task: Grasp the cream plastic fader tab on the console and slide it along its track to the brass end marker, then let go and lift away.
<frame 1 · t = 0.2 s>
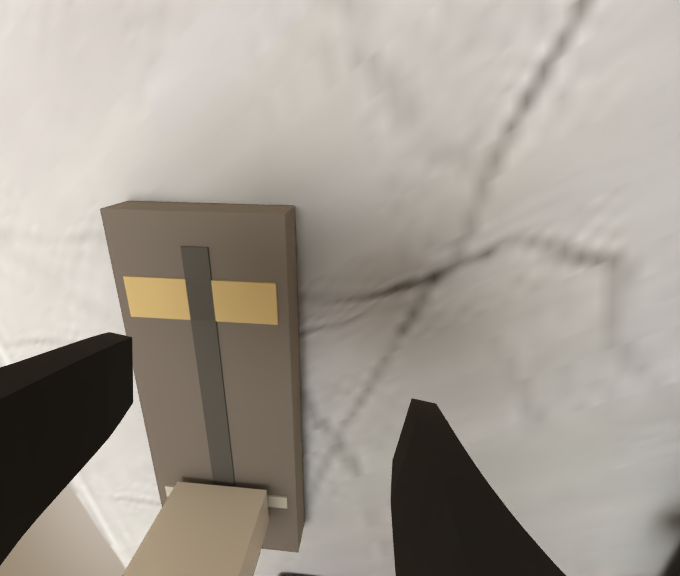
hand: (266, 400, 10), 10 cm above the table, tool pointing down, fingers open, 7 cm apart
fader tab: (200, 554, 20), point 5 cm above the table, slide at 0.0 cm
fader console: (229, 385, 22), on the table
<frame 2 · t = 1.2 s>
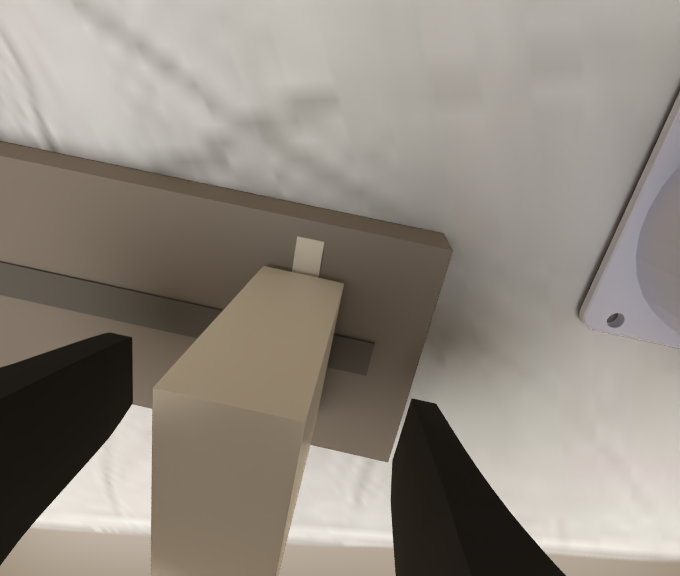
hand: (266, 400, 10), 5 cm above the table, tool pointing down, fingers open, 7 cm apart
fader tab: (265, 409, 10), point 5 cm above the table, slide at 0.0 cm
fader console: (148, 281, 15), on the table
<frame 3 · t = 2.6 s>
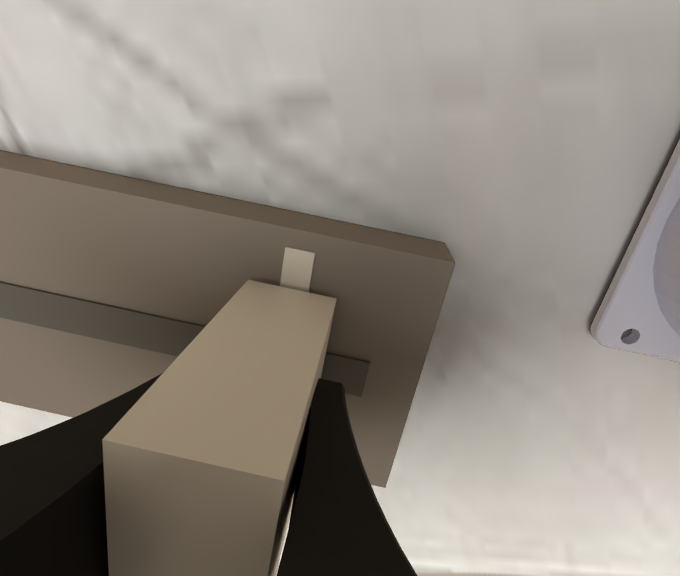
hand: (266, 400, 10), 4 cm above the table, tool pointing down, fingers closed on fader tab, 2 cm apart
fader tab: (247, 442, 9), point 5 cm above the table, slide at 0.0 cm, touching gripper
fader console: (128, 293, 14), on the table
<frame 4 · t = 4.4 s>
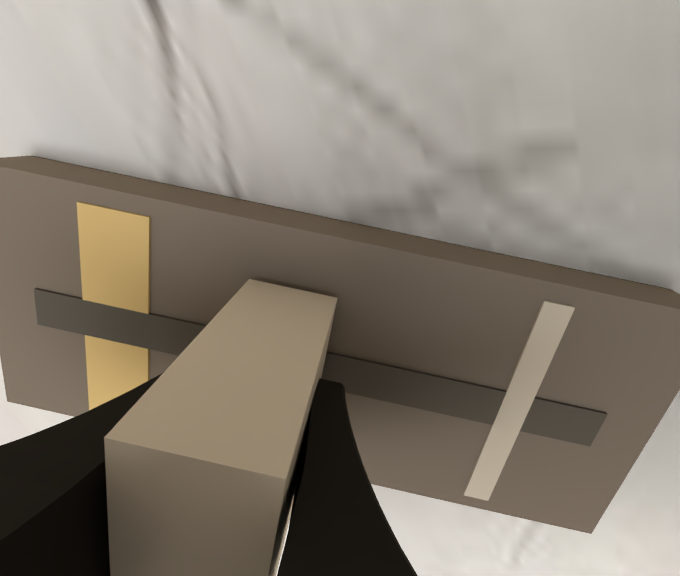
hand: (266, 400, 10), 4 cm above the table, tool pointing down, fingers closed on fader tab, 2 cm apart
fader tab: (248, 441, 9), point 5 cm above the table, slide at 6.9 cm, touching gripper
fader console: (322, 334, 14), on the table
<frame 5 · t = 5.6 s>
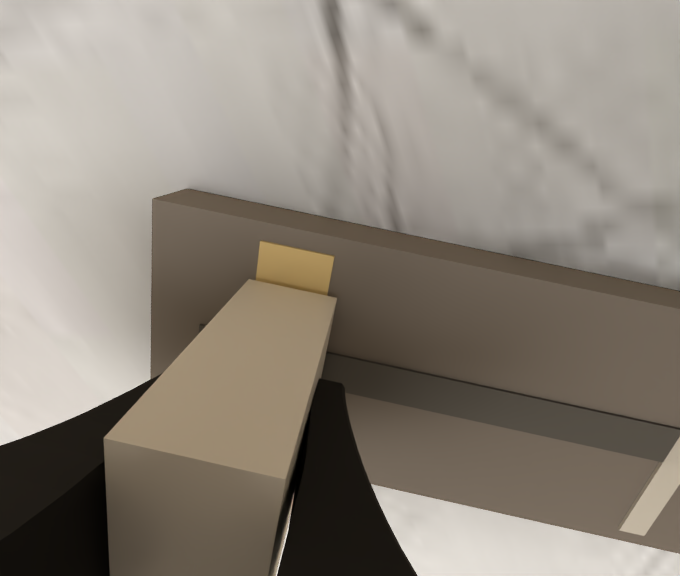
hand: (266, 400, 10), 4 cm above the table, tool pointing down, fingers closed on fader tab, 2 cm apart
fader tab: (248, 441, 9), point 5 cm above the table, slide at 11.9 cm, touching gripper
fader console: (467, 365, 14), on the table
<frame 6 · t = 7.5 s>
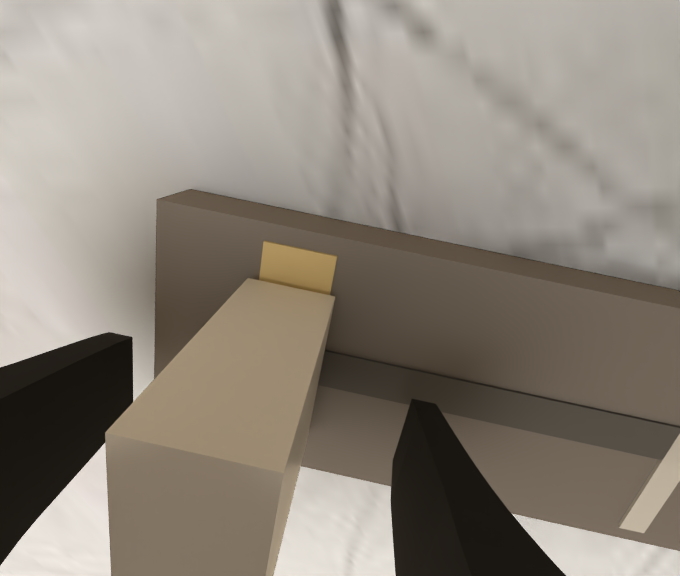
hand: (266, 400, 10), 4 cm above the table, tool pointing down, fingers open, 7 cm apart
fader tab: (247, 438, 9), point 5 cm above the table, slide at 12.0 cm
fader console: (468, 365, 14), on the table
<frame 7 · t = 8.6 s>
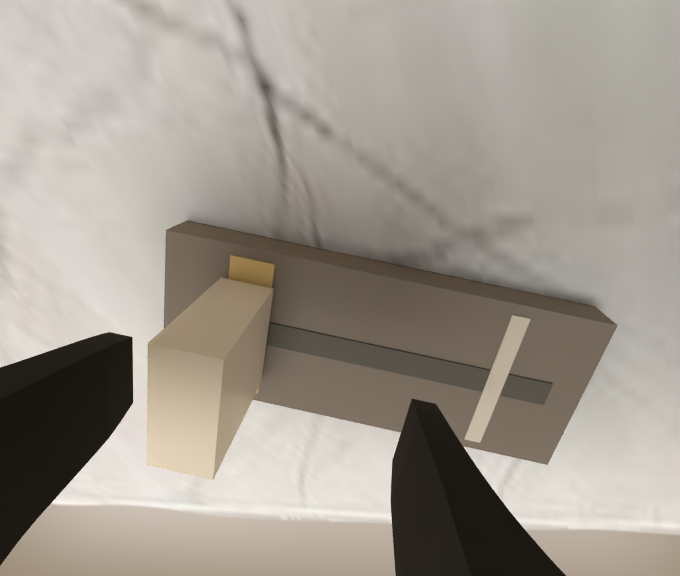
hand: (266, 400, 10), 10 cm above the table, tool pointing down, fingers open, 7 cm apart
fader tab: (217, 366, 16), point 5 cm above the table, slide at 12.0 cm
fader console: (370, 335, 21), on the table
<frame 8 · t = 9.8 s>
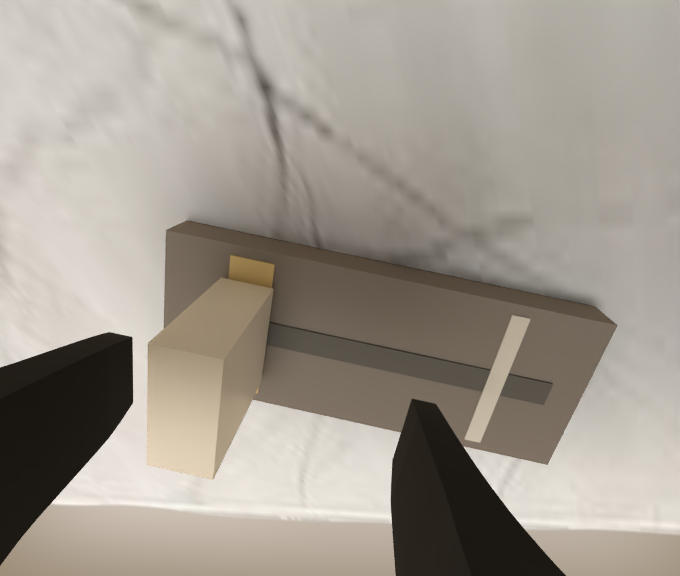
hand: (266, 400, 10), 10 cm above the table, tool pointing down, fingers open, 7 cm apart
fader tab: (217, 366, 16), point 5 cm above the table, slide at 12.0 cm
fader console: (370, 335, 21), on the table
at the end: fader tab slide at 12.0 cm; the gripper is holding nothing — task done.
